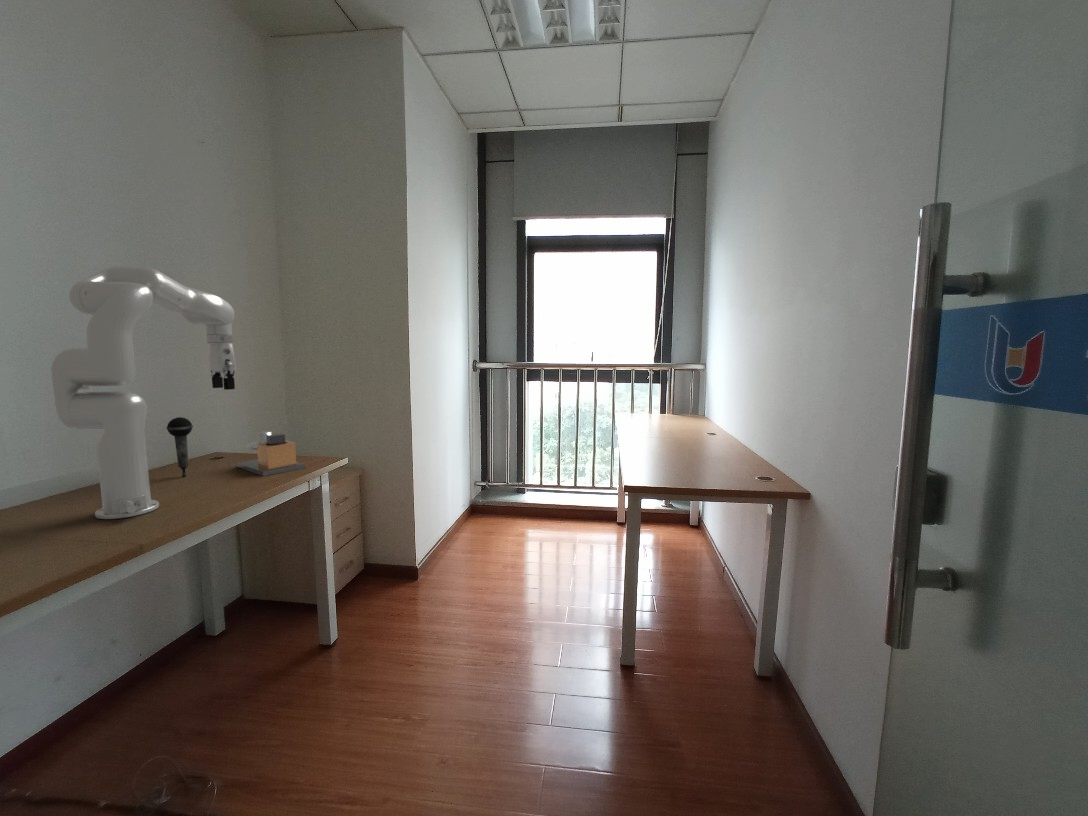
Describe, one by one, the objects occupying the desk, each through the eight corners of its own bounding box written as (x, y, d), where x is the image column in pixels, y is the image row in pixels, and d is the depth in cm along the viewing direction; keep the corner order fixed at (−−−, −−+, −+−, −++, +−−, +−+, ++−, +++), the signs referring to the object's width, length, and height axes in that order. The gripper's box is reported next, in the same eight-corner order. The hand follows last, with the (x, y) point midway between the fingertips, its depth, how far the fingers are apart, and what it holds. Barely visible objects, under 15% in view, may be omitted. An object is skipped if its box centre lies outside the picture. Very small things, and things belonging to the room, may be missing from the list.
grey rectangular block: (286, 465, 167) (284, 434, 166) (271, 467, 163) (269, 436, 162) (283, 463, 169) (281, 433, 167) (268, 466, 165) (266, 435, 164)
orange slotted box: (304, 467, 169) (302, 433, 167) (263, 476, 158) (261, 439, 156) (277, 459, 181) (275, 427, 179) (237, 467, 169) (234, 433, 168)
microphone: (198, 472, 161) (193, 415, 158) (195, 477, 155) (190, 418, 153) (172, 475, 157) (167, 416, 155) (169, 480, 152) (163, 419, 149)
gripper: (242, 340, 163) (246, 389, 165) (221, 340, 173) (225, 386, 175) (217, 339, 157) (221, 390, 159) (197, 340, 167) (201, 387, 169)
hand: (223, 388), depth 167 cm, fingers open, 9 cm apart
